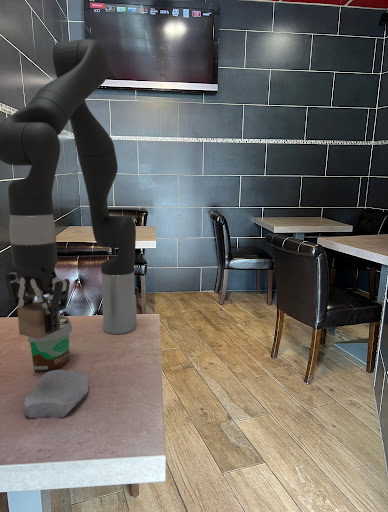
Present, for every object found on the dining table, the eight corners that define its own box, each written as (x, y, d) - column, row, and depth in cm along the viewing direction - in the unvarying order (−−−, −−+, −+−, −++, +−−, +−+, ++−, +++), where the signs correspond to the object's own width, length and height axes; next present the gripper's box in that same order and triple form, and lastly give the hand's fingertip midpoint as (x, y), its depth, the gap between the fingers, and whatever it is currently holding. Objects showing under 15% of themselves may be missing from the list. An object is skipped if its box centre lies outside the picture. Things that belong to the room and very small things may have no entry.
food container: (55, 378, 79) (52, 335, 77) (30, 375, 80) (27, 333, 79) (83, 354, 91) (81, 316, 89) (61, 351, 92) (58, 314, 91)
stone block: (91, 392, 78) (44, 383, 77) (95, 372, 77) (47, 363, 76) (73, 431, 66) (18, 421, 66) (77, 408, 65) (21, 397, 65)
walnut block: (40, 325, 72) (39, 300, 71) (60, 329, 70) (58, 304, 69) (19, 334, 67) (17, 308, 66) (39, 339, 65) (37, 312, 64)
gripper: (79, 240, 66) (83, 329, 69) (22, 235, 71) (28, 317, 75) (47, 245, 59) (53, 344, 62) (-13, 239, 65) (-5, 330, 68)
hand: (39, 329), depth 68 cm, fingers closed on walnut block, 5 cm apart
